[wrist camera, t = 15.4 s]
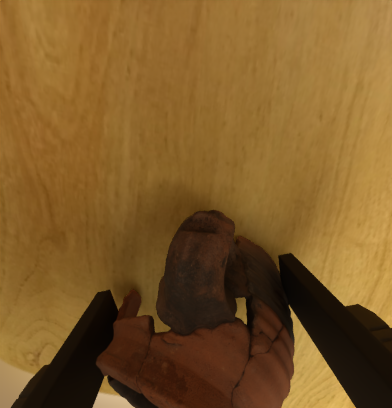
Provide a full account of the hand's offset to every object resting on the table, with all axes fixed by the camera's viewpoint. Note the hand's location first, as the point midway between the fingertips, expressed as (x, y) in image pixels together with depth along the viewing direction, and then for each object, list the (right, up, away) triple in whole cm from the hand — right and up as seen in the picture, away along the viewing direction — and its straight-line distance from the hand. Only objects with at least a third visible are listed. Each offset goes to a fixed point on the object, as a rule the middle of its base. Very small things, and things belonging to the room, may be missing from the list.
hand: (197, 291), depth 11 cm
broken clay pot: (0, 0, +1) cm, 1 cm away
